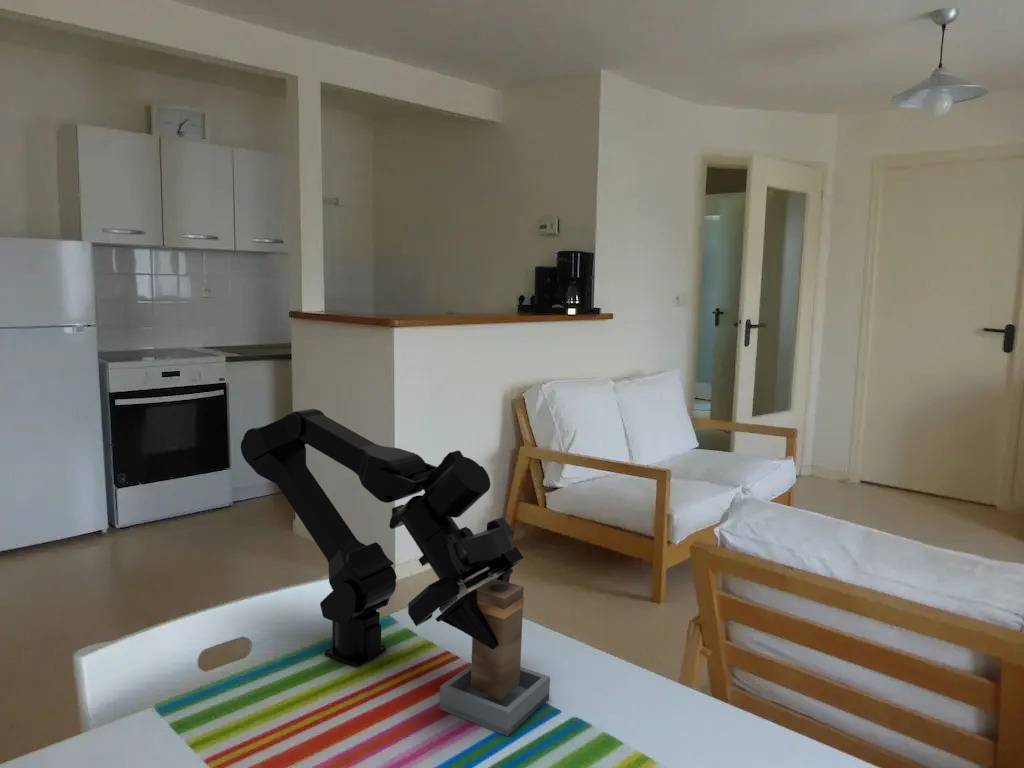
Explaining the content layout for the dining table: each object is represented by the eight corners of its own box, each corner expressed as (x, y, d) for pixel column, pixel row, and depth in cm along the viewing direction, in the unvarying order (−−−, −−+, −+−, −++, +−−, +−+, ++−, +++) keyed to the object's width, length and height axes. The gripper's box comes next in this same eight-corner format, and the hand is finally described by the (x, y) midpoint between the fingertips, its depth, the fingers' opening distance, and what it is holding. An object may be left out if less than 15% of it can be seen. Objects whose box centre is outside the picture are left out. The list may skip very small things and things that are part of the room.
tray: (439, 709, 93) (440, 686, 93) (484, 675, 102) (485, 654, 102) (507, 736, 88) (508, 712, 88) (549, 698, 97) (550, 676, 96)
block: (470, 688, 94) (473, 588, 93) (490, 673, 98) (493, 577, 96) (500, 699, 92) (504, 598, 90) (520, 683, 96) (524, 585, 94)
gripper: (429, 520, 86) (507, 636, 82) (514, 487, 102) (582, 583, 98) (376, 570, 91) (447, 682, 87) (465, 531, 107) (528, 624, 103)
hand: (506, 639), depth 93 cm, fingers closed on block, 4 cm apart
